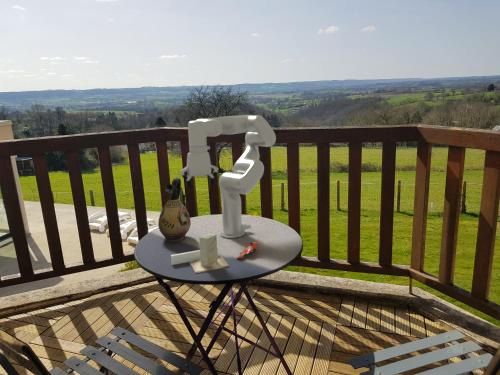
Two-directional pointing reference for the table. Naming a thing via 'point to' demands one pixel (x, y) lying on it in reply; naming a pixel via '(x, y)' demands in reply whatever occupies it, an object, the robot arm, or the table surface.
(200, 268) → the cork pad
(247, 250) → the fish
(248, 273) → the table surface
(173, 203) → the ceramic jug
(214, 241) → the skincare box
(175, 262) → the acrylic wall
